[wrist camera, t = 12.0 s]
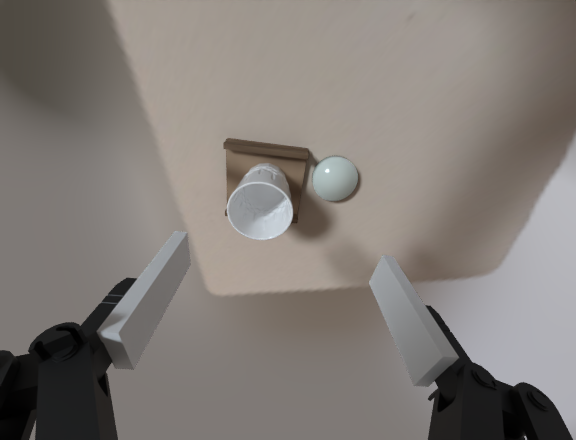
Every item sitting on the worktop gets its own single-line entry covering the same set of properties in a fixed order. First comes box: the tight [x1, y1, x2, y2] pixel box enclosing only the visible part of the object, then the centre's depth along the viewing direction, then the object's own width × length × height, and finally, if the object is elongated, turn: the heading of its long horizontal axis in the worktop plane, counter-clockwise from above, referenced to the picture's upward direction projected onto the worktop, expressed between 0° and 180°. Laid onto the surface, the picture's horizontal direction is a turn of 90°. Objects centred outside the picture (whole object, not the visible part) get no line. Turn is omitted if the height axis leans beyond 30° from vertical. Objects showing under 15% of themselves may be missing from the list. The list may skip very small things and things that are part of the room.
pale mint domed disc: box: [312, 156, 358, 201], centre depth 35 cm, size 7×7×2 cm
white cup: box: [227, 163, 293, 240], centre depth 30 cm, size 8×8×10 cm
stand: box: [224, 138, 309, 223], centre depth 34 cm, size 12×12×3 cm
